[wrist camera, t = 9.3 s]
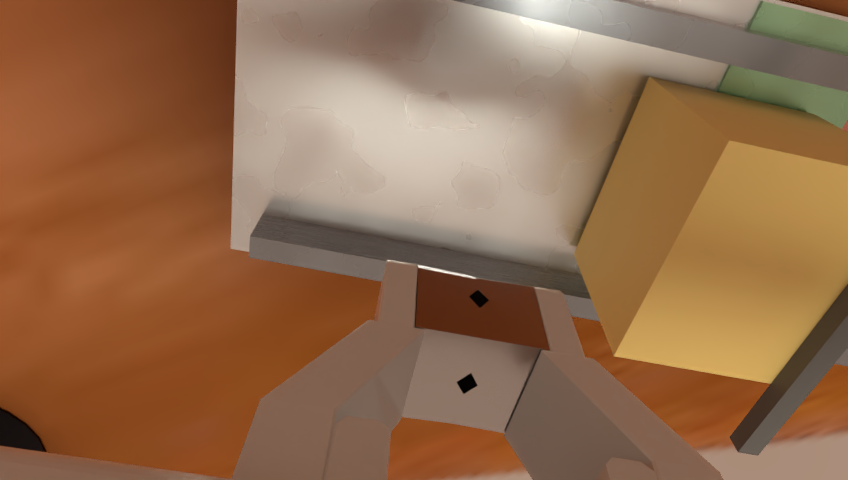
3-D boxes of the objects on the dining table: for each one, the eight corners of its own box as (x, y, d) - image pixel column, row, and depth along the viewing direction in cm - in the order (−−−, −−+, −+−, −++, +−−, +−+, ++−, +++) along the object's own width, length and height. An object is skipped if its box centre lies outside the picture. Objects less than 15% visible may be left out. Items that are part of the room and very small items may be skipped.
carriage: (685, -9, 14) (805, 32, 9) (996, 67, 15) (1246, 138, 10) (552, 305, 19) (587, 427, 15) (785, 348, 20) (886, 476, 15)
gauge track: (253, -130, 14) (112, -158, 8) (1133, 86, 16) (1543, 192, 10) (239, 233, 19) (152, 378, 13) (892, 354, 22) (1064, 523, 16)
